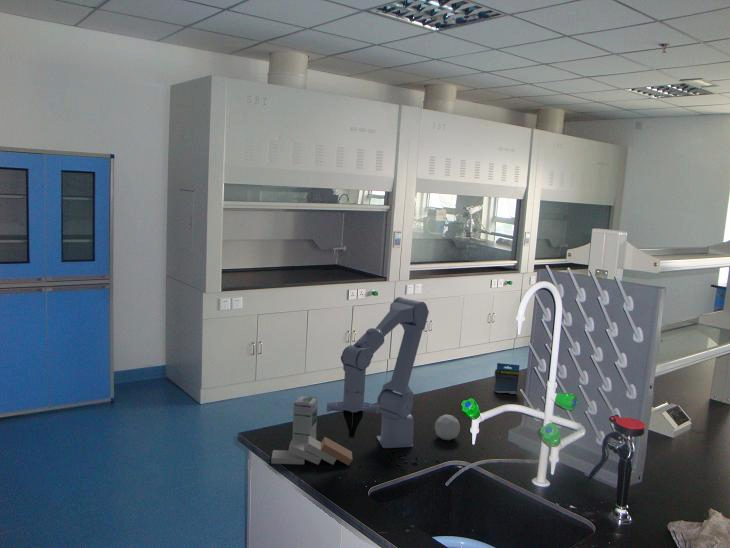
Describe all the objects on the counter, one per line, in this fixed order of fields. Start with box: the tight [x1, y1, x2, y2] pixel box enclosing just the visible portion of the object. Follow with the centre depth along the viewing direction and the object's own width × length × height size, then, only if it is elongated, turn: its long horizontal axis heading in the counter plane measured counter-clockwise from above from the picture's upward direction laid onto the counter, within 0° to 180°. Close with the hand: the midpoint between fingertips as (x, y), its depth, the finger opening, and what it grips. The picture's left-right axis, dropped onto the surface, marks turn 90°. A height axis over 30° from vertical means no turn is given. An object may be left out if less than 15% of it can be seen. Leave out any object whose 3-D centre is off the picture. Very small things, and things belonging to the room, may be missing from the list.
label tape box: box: [492, 362, 520, 393], centre depth 230 cm, size 9×4×12 cm, turn 84°
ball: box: [434, 413, 461, 441], centre depth 183 cm, size 8×8×8 cm
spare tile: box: [320, 436, 353, 466], centre depth 164 cm, size 2×5×9 cm
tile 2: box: [305, 436, 337, 466], centre depth 163 cm, size 2×5×9 cm
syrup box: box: [292, 395, 319, 443], centre depth 171 cm, size 6×6×14 cm
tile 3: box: [287, 437, 322, 466], centre depth 163 cm, size 2×5×9 cm
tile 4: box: [270, 449, 306, 465], centre depth 163 cm, size 2×5×9 cm
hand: (351, 436), depth 163 cm, fingers closed
